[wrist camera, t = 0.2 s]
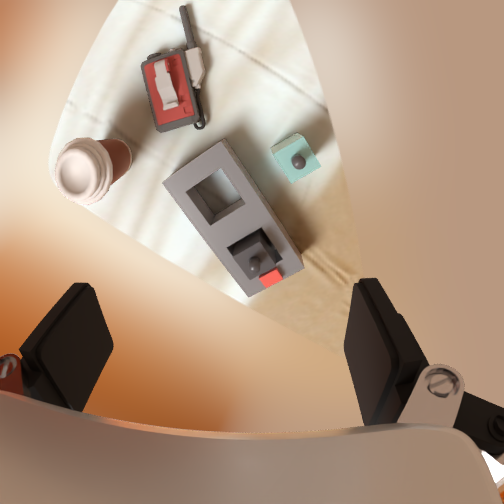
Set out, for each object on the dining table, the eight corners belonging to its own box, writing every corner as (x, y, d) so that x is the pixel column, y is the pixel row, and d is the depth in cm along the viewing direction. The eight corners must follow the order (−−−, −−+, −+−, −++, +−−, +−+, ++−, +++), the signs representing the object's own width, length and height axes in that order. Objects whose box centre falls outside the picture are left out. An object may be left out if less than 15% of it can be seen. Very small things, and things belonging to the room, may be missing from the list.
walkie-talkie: (220, 124, 41) (191, 6, 33) (215, 125, 37) (184, -3, 29) (164, 140, 42) (136, 25, 34) (154, 143, 38) (125, 18, 30)
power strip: (170, 175, 44) (151, 191, 36) (224, 138, 42) (215, 144, 34) (249, 282, 52) (247, 314, 44) (301, 254, 50) (308, 284, 42)
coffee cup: (108, 195, 46) (70, 221, 35) (82, 150, 42) (38, 166, 32) (150, 167, 44) (117, 186, 33) (122, 118, 40) (82, 125, 29)
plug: (270, 147, 42) (273, 156, 34) (296, 132, 41) (305, 137, 33) (286, 172, 44) (292, 187, 36) (312, 158, 43) (324, 169, 35)
